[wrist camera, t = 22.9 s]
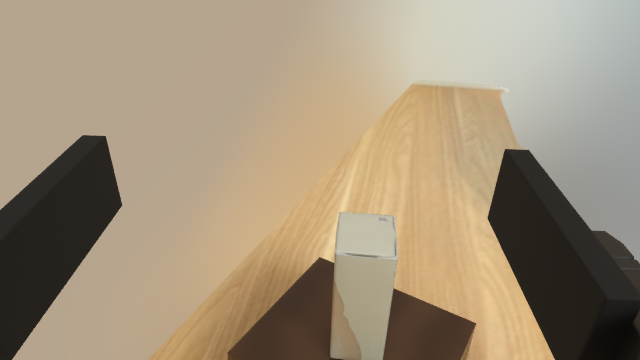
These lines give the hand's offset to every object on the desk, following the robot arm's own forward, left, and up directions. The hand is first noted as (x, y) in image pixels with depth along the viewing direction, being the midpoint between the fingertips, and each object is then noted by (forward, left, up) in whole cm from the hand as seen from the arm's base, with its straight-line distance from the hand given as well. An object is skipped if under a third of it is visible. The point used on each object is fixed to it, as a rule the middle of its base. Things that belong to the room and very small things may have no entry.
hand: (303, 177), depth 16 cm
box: (-3, +13, -23) cm, 27 cm away
